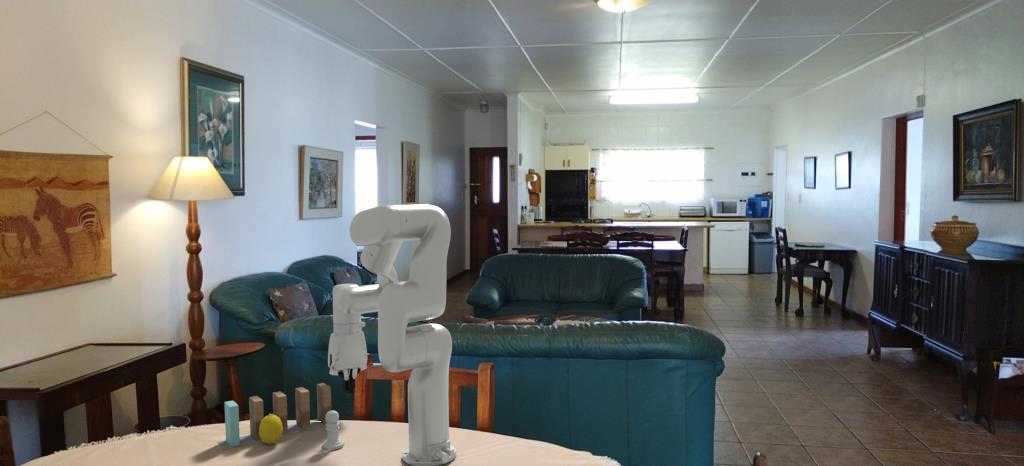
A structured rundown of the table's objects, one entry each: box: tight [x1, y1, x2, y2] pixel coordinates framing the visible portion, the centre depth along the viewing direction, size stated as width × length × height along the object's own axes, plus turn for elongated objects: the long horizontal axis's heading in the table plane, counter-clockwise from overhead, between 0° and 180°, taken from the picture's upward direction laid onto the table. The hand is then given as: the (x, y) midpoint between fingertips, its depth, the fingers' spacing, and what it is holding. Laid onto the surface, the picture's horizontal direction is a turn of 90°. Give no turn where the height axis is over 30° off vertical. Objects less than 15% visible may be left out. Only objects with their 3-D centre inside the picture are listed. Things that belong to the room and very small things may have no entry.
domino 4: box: [316, 382, 332, 424], centre depth 176 cm, size 5×2×10 cm, turn 38°
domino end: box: [224, 400, 241, 448], centre depth 161 cm, size 5×2×10 cm, turn 38°
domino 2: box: [272, 390, 289, 436], centre depth 169 cm, size 5×2×10 cm, turn 38°
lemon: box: [259, 413, 283, 446], centre depth 160 cm, size 6×6×8 cm
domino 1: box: [248, 395, 265, 442], centre depth 165 cm, size 5×2×10 cm, turn 38°
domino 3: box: [294, 386, 311, 431], centre depth 172 cm, size 5×2×10 cm, turn 38°
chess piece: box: [322, 409, 345, 451], centre depth 159 cm, size 5×5×9 cm
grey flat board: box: [216, 418, 326, 450], centre depth 168 cm, size 6×28×1 cm, turn 128°
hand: (349, 392), depth 181 cm, fingers closed
